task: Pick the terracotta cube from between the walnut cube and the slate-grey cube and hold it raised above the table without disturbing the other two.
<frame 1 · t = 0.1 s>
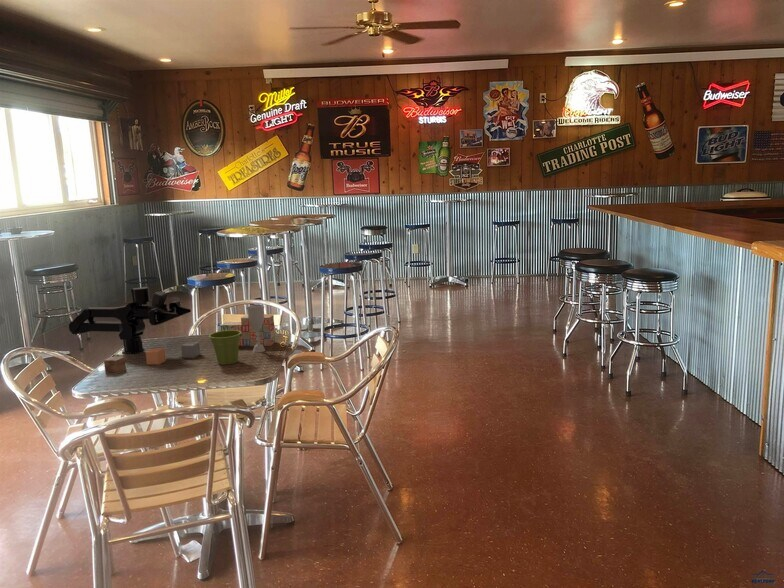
hand: (184, 312, 243), 17 cm above the table, tool horizontal, fingers open, 9 cm apart
terracotta cube: (156, 362, 234), on the table
chalice: (259, 351, 245), on the table
walnut cube: (116, 371, 225), on the table
slate cube: (191, 355, 242), on the table
plant pot: (227, 363, 230), on the table
stack of blocks: (249, 344, 257), on the table
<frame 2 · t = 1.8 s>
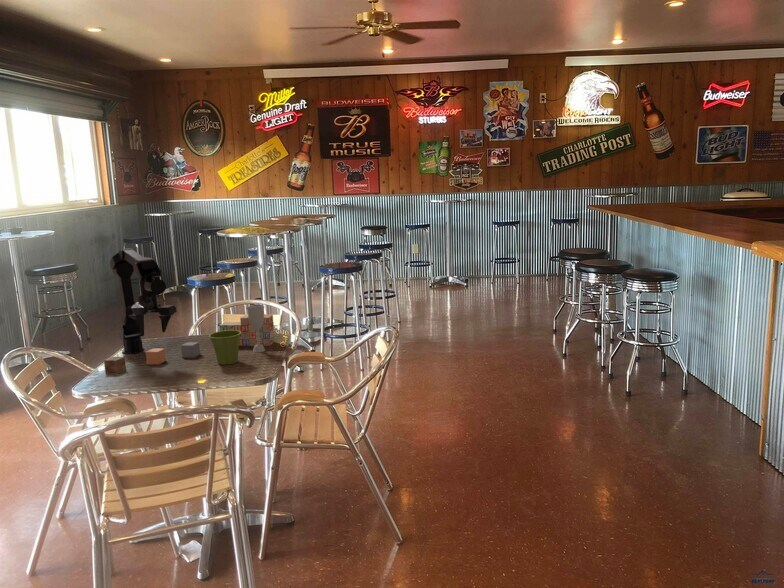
hand: (153, 332, 232), 12 cm above the table, tool pointing down, fingers open, 9 cm apart
nothing on the table moved.
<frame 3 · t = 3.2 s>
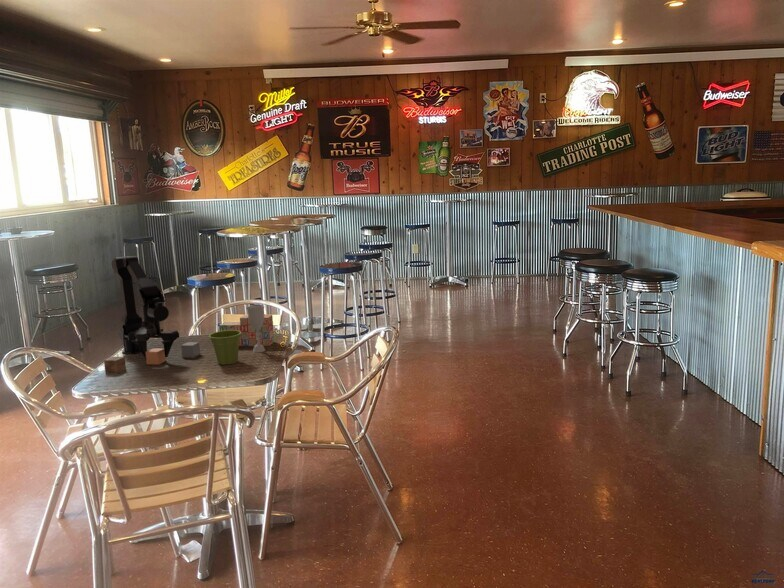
hand: (155, 357, 234), 2 cm above the table, tool pointing down, fingers open, 9 cm apart
nothing on the table moved.
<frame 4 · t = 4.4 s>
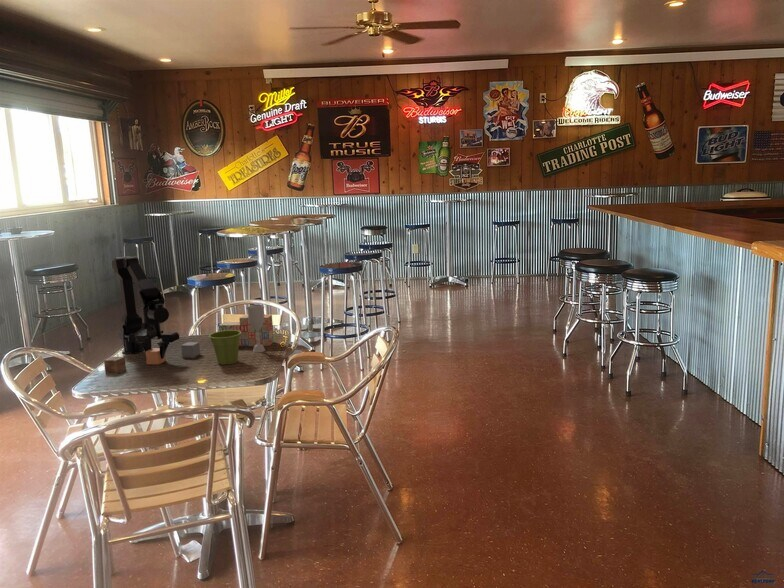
hand: (156, 358, 234), 2 cm above the table, tool pointing down, fingers closed on terracotta cube, 5 cm apart
terracotta cube: (156, 362, 234), on the table, touching gripper
everything else where it was.
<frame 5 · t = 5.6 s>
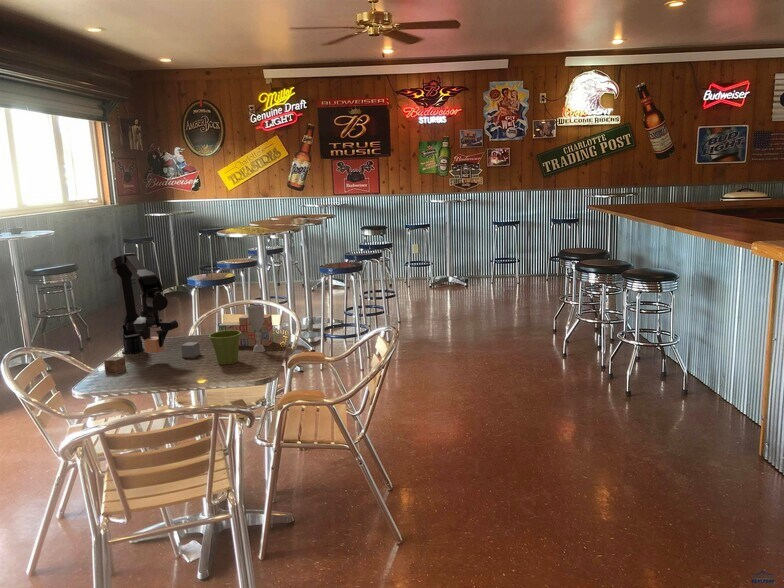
hand: (154, 346, 233), 6 cm above the table, tool pointing down, fingers closed on terracotta cube, 5 cm apart
terracotta cube: (155, 350, 233), point 5 cm above the table, touching gripper
everything else where it was.
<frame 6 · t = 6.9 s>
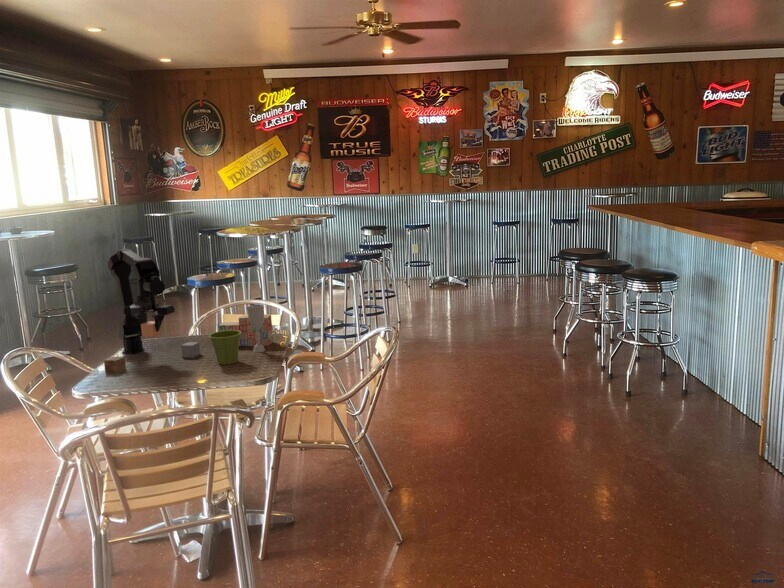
hand: (151, 331, 235), 12 cm above the table, tool pointing down, fingers closed on terracotta cube, 5 cm apart
terracotta cube: (151, 335, 235), point 10 cm above the table, touching gripper
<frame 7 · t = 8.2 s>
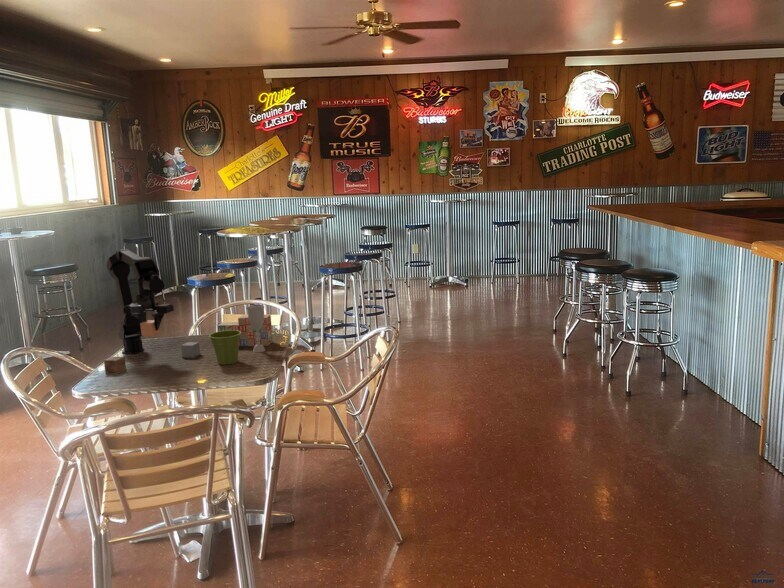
hand: (150, 330, 236), 12 cm above the table, tool pointing down, fingers closed on terracotta cube, 5 cm apart
terracotta cube: (151, 334, 236), point 10 cm above the table, touching gripper
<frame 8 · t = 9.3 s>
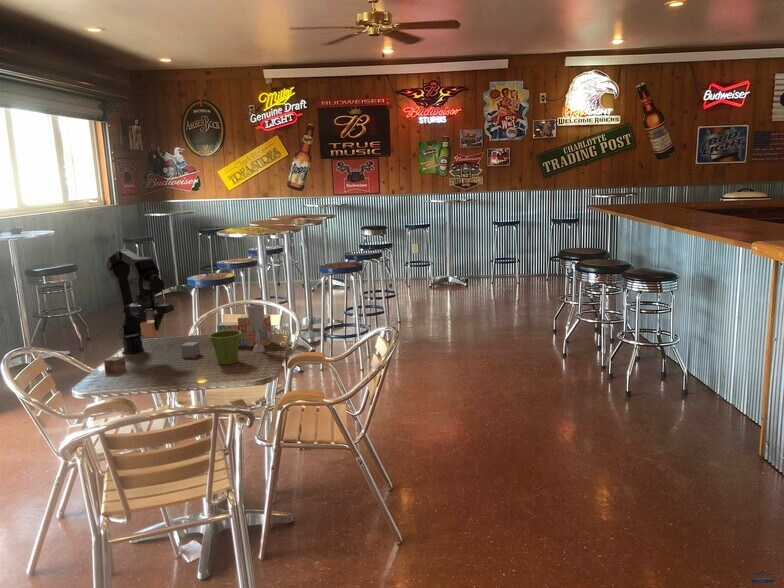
hand: (150, 330, 236), 12 cm above the table, tool pointing down, fingers closed on terracotta cube, 5 cm apart
terracotta cube: (151, 334, 236), point 10 cm above the table, touching gripper
at the end: terracotta cube point 10.4 cm above the table; walnut cube moved 0.1 cm from its start; slate cube moved 0.1 cm from its start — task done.
